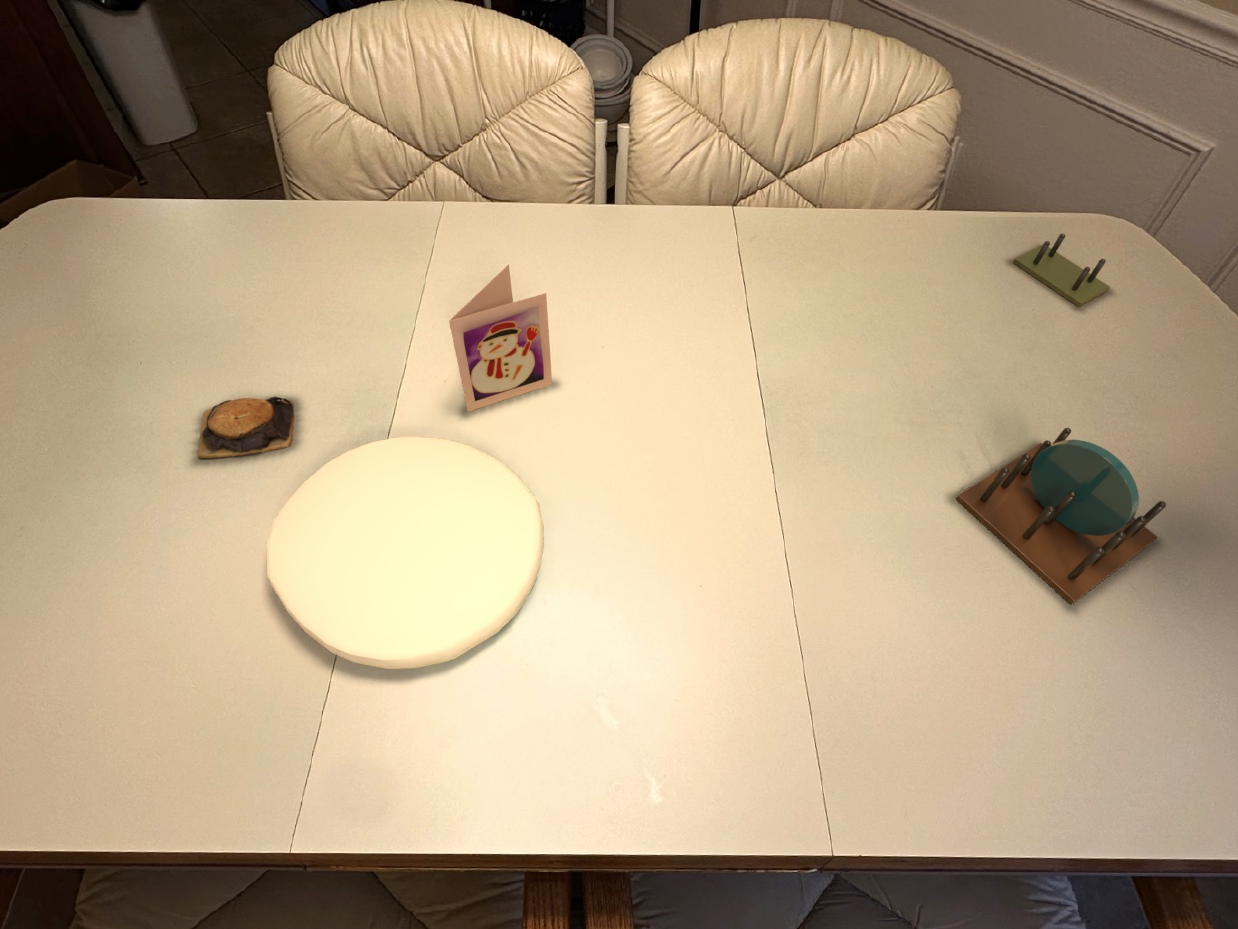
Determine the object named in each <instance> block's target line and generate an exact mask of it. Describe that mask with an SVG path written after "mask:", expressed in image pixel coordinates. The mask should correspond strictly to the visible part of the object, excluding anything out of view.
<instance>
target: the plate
mask: <svg viewBox="0 0 1238 929" xmlns="http://www.w3.org/2000/svg"><path fill="white" fill-rule="evenodd" d="M541 512H542V511H541V507H540V502H539V501H538V500H537V499H536V497H535V496H534V495H533V494H532V492H531V491H530V490H529V488H528V487H527V486H526V484H524V482H523V481H522V480H521V478H520V477H519V475H517V474H516V473H515V472H514V471H513V470H512V469H510V468H509V467H508V466H507V465H505V464H504V463H503V462H502V461H500V460H498V459H496V458H494V457H492V456H490V455H489V454H486V453H484V452H483V451H481V450H479V449H477V448H475V447H473V446H471V445H468V444H466V443H462V442H458V441H455V440H452V439H445V438H444V439H443V438H438V437H437V438H436V437H427V436H398V437H397V436H396V437H391V438H386V439H380V440H374V441H371V442H368V443H366V444H363V445H360V446H358V447H354V448H352V449H350V450H346V451H344V452H343V453H341V454H340V455H338V456H336V457H334V458H333V459H331V460H330V461H328V462H326V463H324V464H323V465H322V466H321V467H320V468H318V469H317V470H316V471H315V472H314V473H313V474H312V475H311V476H309V477H308V478H307V479H306V480H305V481H303V482H302V483H301V484H300V486H298V488H297V489H296V490H295V491H294V492H293V493H292V494H291V496H289V497H288V499H287V500H286V501H285V503H284V504H283V506H282V507H281V508H280V510H279V511H278V513H277V514H276V516H275V517H274V518H273V520H272V522H271V525H270V528H269V531H268V534H267V537H266V542H265V546H266V547H265V548H266V550H265V551H266V575H267V580H268V582H269V583H270V585H271V587H272V589H273V590H274V592H275V593H276V595H277V597H278V598H279V600H280V601H281V603H282V604H283V606H284V608H285V609H286V611H287V613H288V614H289V616H290V617H291V618H292V619H293V620H294V621H295V622H296V623H297V624H298V626H300V628H301V629H302V630H303V631H304V632H305V633H306V634H307V635H309V636H310V637H311V638H313V639H314V640H315V641H316V642H317V643H319V644H320V645H321V646H323V647H324V648H325V649H327V650H328V651H329V652H331V653H332V654H334V655H336V656H338V657H341V658H343V659H345V660H348V661H350V662H352V663H355V664H357V665H365V666H370V667H375V668H381V669H387V670H401V669H403V670H405V669H418V668H423V667H428V666H432V665H436V664H440V663H445V662H449V661H453V660H456V659H458V658H459V657H460V656H462V655H463V654H465V653H467V652H468V651H470V650H472V649H473V648H475V647H476V646H478V645H480V644H482V643H483V642H484V641H486V640H488V639H489V638H491V637H492V636H495V635H496V634H498V633H499V632H500V631H501V630H502V629H503V628H504V627H505V626H506V625H507V624H508V623H509V622H510V621H511V620H512V619H513V618H514V617H515V616H516V615H517V613H518V611H520V609H521V607H522V606H523V604H524V603H525V601H526V599H527V598H528V597H529V595H530V594H531V592H532V591H533V588H534V585H535V583H536V580H537V578H538V575H539V573H540V570H541V565H542V559H543V553H544V546H545V542H544V541H545V540H544V539H545V538H544V537H545V536H544V533H545V532H544V530H545V529H544V522H543V517H542V513H541Z"/></svg>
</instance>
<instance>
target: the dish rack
mask: <svg viewBox="0 0 1238 929" xmlns="http://www.w3.org/2000/svg"><path fill="white" fill-rule="evenodd" d="M1071 433H1072V429H1071V427H1065V428H1063V430H1062V431H1061V432H1060V433H1059V435H1058V436H1057V437H1056V438H1055V440H1054V441H1053V442H1051V440H1048V439H1047V440H1044V441H1043V442H1041V443H1039V444H1037V445H1036V446H1034V447H1033V448H1031V449H1029V450H1028V451H1026V452H1024V453H1023V454H1021V455H1020V456H1018V457H1017V458H1015V459H1013V460H1012V461H1010V462H1008V463H1007V464H1005V465H1003V467H1000V468H999V469H997V470H996V471H994V472H993V473H991V474H989V475H988V476H987V477H985V478H983V479H982V480H980V481H979V482H977V483H976V484H974V485H972V486H971V487H968V489H966V490H964V491H962V492H961V493H960V494H958V495H957V496H956V498H955V500H956V501H957V502H959V504H961V505H962V506H963V507H964V508H965V509H966V510H967V511H969V513H970V514H971V515H973V517H975V518H976V519H977V520H978V521H979V522H980V523H981V524H982V525H983V526H984V527H986V529H988V530H989V531H990V532H991V533H992V534H993V535H994V536H996V538H997V539H999V540H1000V541H1001V542H1002V543H1003V544H1004V545H1005V546H1006V547H1007V548H1009V549H1010V550H1011V551H1012V552H1013V553H1014V554H1015V555H1016V556H1017V557H1018V558H1020V560H1021V561H1022V562H1024V563H1025V564H1026V565H1027V566H1028V567H1029V568H1030V569H1031V570H1033V571H1034V572H1035V573H1036V574H1037V575H1038V576H1039V577H1040V579H1042V580H1043V581H1044V582H1046V583H1047V585H1049V586H1050V588H1052V589H1053V590H1054V591H1056V593H1058V594H1059V595H1060V596H1061V597H1062V598H1063V599H1064V600H1066V601H1067V602H1068V603H1069V605H1072V604H1073V603H1075V602H1076V601H1077V600H1079V599H1081V597H1083V596H1084V595H1086V593H1088V592H1089V591H1091V590H1092V589H1093V588H1094V587H1095V586H1097V585H1098V584H1099V583H1101V582H1102V581H1104V580H1105V579H1106V578H1108V576H1110V575H1111V574H1112V573H1114V572H1115V571H1116V570H1118V569H1119V568H1121V567H1122V566H1123V565H1125V564H1126V563H1127V562H1128V561H1130V560H1131V559H1132V558H1133V557H1135V556H1136V555H1138V554H1140V552H1141V551H1143V550H1144V549H1146V548H1147V547H1148V546H1149V545H1150V544H1152V543H1153V542H1154V541H1155V540H1157V539H1158V536H1157V535H1156V534H1155V533H1154V532H1152V531H1151V530H1150V529H1148V528H1147V527H1146V525H1148V524H1149V523H1150V522H1151V521H1152V520H1153V519H1154V518H1155V517H1156V516H1158V514H1160V513H1161V512H1163V510H1164V509H1165V508H1166V507H1167V503H1166V502H1165V501H1163V500H1159V501H1158V502H1156V503H1155V505H1153V507H1151V508H1150V509H1149V510H1148V511H1147V512H1146V513H1144V514H1143V515H1139V516H1137V518H1135V517H1134V518H1133V519H1132V520H1131V521H1130V522H1129V523H1128V524H1127V525H1125V526H1124V527H1123V528H1121V529H1120V530H1119V531H1117V532H1115V533H1112V534H1109V535H1103V536H1094V535H1087V534H1082V533H1079V532H1076V531H1074V530H1072V529H1070V528H1068V527H1066V526H1064V525H1063V524H1061V523H1060V522H1058V521H1057V520H1056V518H1057V517H1058V515H1059V514H1060V513H1061V512H1062V511H1063V510H1064V509H1065V508H1066V507H1067V506H1068V504H1069V503H1070V502H1071V501H1072V500H1073V499H1074V498H1075V497H1076V493H1075V492H1074V491H1070V492H1068V493H1067V495H1066V496H1065V497H1064V498H1063V499H1062V500H1061V501H1060V502H1059V504H1058V505H1057V506H1056V507H1055V508H1054V507H1053V506H1048V507H1047V508H1046V509H1044V507H1043V506H1042V505H1041V503H1040V502H1039V500H1038V498H1037V496H1036V494H1035V492H1034V489H1033V486H1032V481H1031V469H1032V465H1033V463H1034V460H1035V459H1036V457H1037V456H1038V455H1039V454H1040V453H1041V452H1042V451H1043V450H1044V449H1046V448H1048V447H1049V446H1051V445H1052V444H1054V443H1057V442H1060V441H1064V440H1067V438H1068V437H1069V436H1070V434H1071Z"/></svg>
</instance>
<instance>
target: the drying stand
mask: <svg viewBox="0 0 1238 929" xmlns="http://www.w3.org/2000/svg"><path fill="white" fill-rule="evenodd" d="M1065 238H1066V234H1065V233H1060V234H1059V235H1058V236H1057V239H1056V240H1055V242H1054V243H1053V245H1052V247H1050V245H1051V242H1050V241H1049V240H1045V241H1043V244H1042V245H1040V246H1038V247H1036V248H1033V249H1031V250H1029V251H1027V252H1025V253H1023V254H1022V255H1021V254H1020V255H1019V256H1017V257H1015V258H1014V259H1013V261H1012V264H1014V265H1015V266H1017V267H1019V269H1022V270H1023V271H1024V272H1026V273H1028V274H1029V275H1031V277H1033V278H1035V279H1037V281H1039V282H1040V283H1042V284H1044V285H1045V286H1046V287H1048V288H1050V289H1051V290H1053V291H1054V292H1056V293H1057V294H1059V295H1060V296H1062V297H1063V298H1065V299H1066V300H1068V301H1069V302H1070V303H1072V304H1073V305H1075V306H1076V307H1078V308H1079V307H1082V306H1084V305H1085V304H1087V303H1089V302H1090V301H1092V300H1094V299H1096V298H1098V297H1099V296H1101V295H1103V294H1105V293H1107V292H1108V291H1109V290H1110V288H1111V286H1110V285H1108V284H1106V283H1105V282H1103V281H1102V280H1101V279H1099V278H1097V276H1098V275H1099V273H1100V271H1101V270H1102V268H1104V265H1105V264H1106V262H1107V260H1106V258H1100V260H1098V262H1097V264H1096V265H1095V267H1093V268H1094V269H1093V270H1092V271H1091V267H1089V266H1085V267H1084V268H1082V267H1081V266H1078V265H1077V264H1076V263H1074V262H1073V261H1071V260H1070V259H1068V258H1067V257H1066V256H1065V257H1064V256H1063V255H1061V253H1058V250H1059V248H1060V247H1061V245H1062V243H1063V241H1064V239H1065ZM1090 272H1091V273H1090Z"/></svg>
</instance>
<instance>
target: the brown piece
mask: <svg viewBox="0 0 1238 929" xmlns="http://www.w3.org/2000/svg"><path fill="white" fill-rule="evenodd" d="M294 408H295V404H294V402H293V401H292V400H289V399H287V398H283V397H279V396H272V397H271V396H270V397H269V398H267V399H262V398H255V397H254V398H253V397H252V398H251V397H243V398H235V399H227V400H224V401H222V402H220V403H218V404H216V405H214V406H212V408H209V409H207V410H205V411H204V412H203V415H202V422H201V427H200V435H199V440H198V446H197V457H198V459H205V458H206V459H211V458H213V459H214V458H223V457H224V458H228V457H237V456H241V457H243V456H245V455H252V454H257V453H261V454H264V453H265V452H268V451H273V450H282V449H285V448H289V447H291V445H292V442H293V441H294V440H293V436H294V434H293V433H294V429H295V426H294V421H295V414H294V413H295V412H294Z"/></svg>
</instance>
